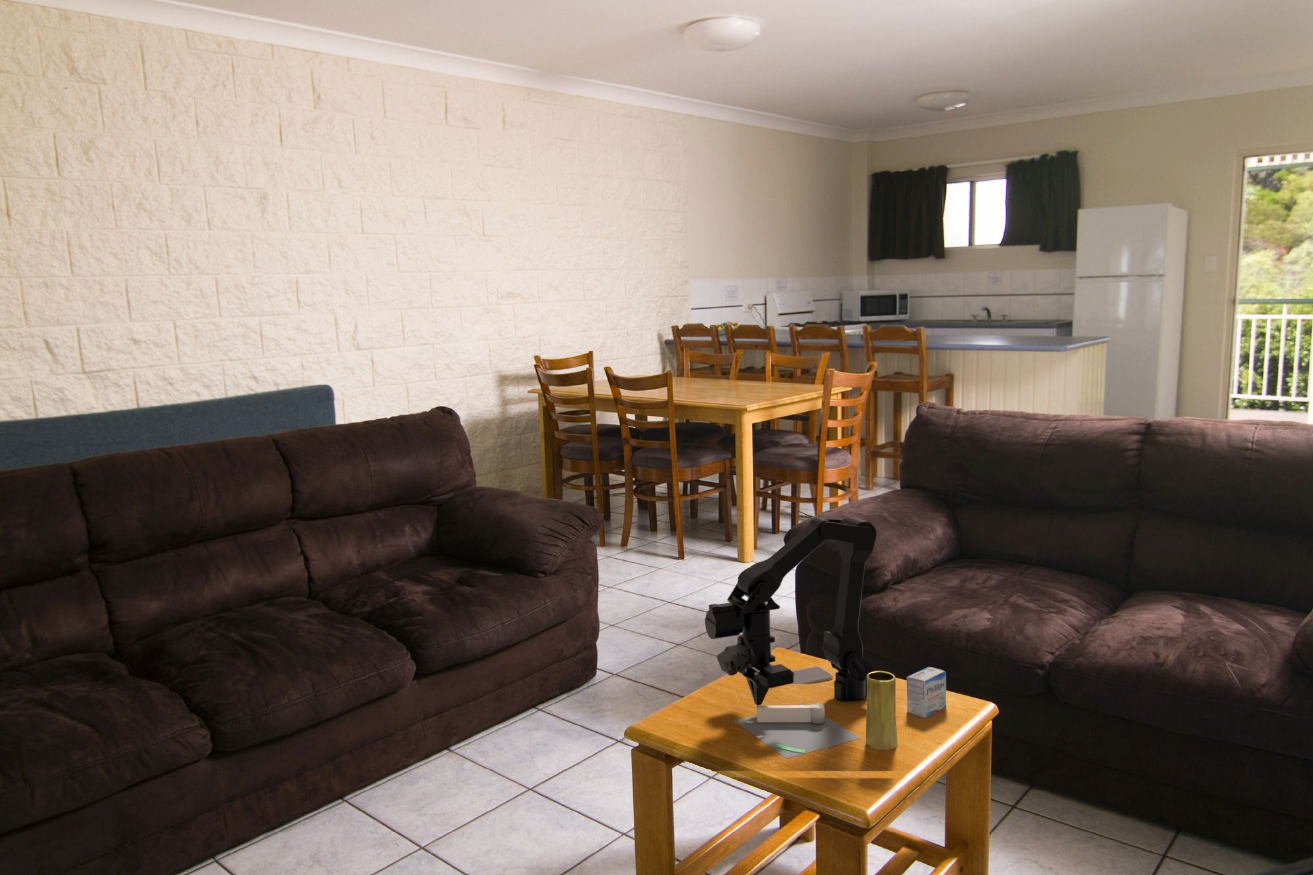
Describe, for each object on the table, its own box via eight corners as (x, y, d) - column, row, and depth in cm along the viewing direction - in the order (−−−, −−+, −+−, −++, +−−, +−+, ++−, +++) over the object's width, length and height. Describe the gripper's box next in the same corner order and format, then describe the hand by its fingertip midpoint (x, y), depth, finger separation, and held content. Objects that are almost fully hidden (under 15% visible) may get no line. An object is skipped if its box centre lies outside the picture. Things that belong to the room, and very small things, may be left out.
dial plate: (803, 707, 193) (803, 702, 193) (860, 742, 176) (860, 737, 176) (734, 725, 186) (733, 720, 186) (786, 763, 169) (785, 757, 169)
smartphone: (761, 677, 210) (817, 665, 215) (761, 681, 210) (817, 669, 215) (776, 688, 203) (834, 676, 208) (776, 692, 203) (834, 680, 209)
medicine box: (925, 722, 184) (925, 681, 183) (906, 716, 187) (906, 675, 186) (946, 711, 189) (946, 670, 188) (927, 705, 193) (927, 665, 191)
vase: (892, 758, 170) (891, 684, 168) (860, 751, 173) (859, 678, 171) (902, 744, 175) (901, 673, 173) (871, 738, 178) (870, 667, 176)
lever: (823, 717, 185) (823, 703, 185) (825, 723, 182) (825, 709, 182) (757, 717, 186) (756, 703, 186) (757, 724, 183) (757, 709, 183)
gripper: (700, 625, 192) (702, 696, 194) (745, 652, 175) (748, 730, 177) (745, 616, 196) (747, 686, 198) (794, 642, 180) (796, 718, 181)
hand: (758, 704), depth 189 cm, fingers closed
